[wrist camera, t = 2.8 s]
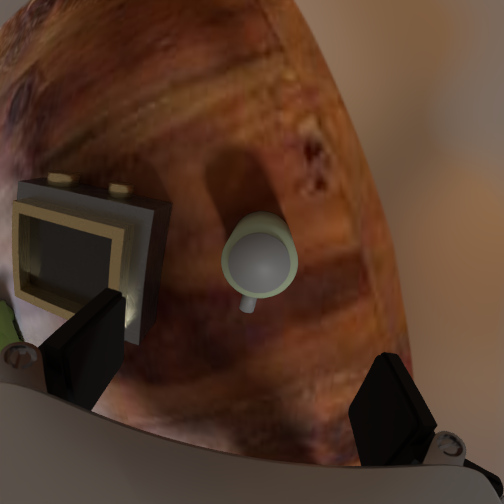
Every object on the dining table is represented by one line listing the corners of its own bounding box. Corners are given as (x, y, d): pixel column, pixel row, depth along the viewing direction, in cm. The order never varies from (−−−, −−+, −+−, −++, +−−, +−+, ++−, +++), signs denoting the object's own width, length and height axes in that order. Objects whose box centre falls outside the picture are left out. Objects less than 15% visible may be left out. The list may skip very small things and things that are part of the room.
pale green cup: (298, 219, 28) (307, 236, 21) (277, 292, 30) (279, 329, 23) (239, 204, 28) (229, 217, 21) (222, 279, 30) (209, 313, 23)
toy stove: (175, 190, 28) (147, 198, 21) (155, 321, 32) (131, 356, 25) (48, 166, 28) (6, 170, 21) (42, 282, 32) (7, 303, 25)
